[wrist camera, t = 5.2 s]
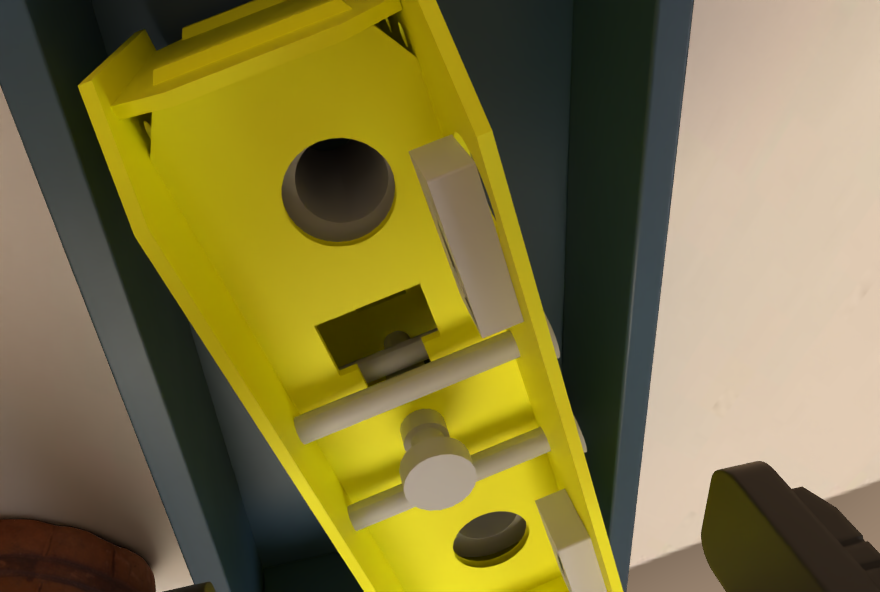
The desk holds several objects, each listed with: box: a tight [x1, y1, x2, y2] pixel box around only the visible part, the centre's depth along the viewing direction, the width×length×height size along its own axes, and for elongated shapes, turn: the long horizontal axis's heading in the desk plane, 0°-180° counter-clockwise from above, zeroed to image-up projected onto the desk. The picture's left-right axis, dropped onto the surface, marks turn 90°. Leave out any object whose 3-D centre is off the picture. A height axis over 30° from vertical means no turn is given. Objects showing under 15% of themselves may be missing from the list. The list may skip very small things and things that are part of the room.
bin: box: [0, 0, 694, 592], centre depth 17 cm, size 12×22×4 cm, turn 4°
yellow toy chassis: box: [78, 0, 623, 592], centre depth 15 cm, size 16×6×8 cm, turn 18°
